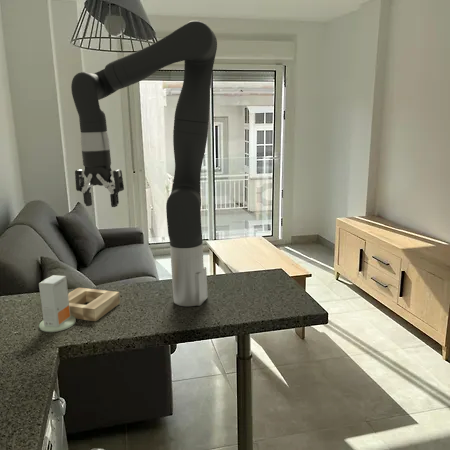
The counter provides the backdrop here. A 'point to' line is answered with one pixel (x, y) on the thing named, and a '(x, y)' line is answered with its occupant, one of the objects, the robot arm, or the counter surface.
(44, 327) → the coaster
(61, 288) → the skincare box
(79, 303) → the pocket block
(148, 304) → the counter surface
